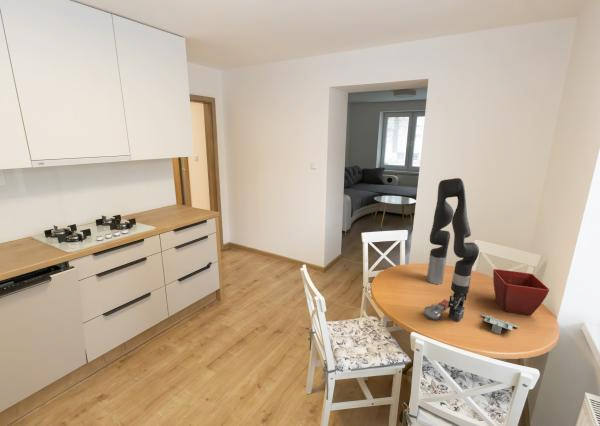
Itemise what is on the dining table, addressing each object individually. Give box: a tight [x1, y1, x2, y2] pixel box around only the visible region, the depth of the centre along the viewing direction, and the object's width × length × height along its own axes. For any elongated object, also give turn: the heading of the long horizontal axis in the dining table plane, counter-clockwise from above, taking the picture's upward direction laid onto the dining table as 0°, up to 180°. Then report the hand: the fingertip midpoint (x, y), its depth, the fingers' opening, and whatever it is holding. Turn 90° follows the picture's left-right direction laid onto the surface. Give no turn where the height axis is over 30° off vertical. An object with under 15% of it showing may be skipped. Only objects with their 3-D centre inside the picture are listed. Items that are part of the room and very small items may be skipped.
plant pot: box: [492, 268, 550, 316], centre depth 157 cm, size 19×19×17 cm
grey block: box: [447, 305, 465, 323], centre depth 148 cm, size 5×5×6 cm
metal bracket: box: [481, 314, 519, 335], centre depth 143 cm, size 14×6×15 cm
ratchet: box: [423, 299, 450, 322], centre depth 153 cm, size 20×8×6 cm, turn 129°
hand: (455, 311), depth 148 cm, fingers open, 8 cm apart
